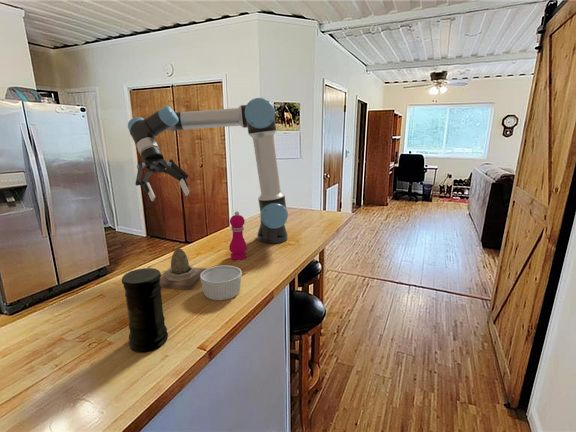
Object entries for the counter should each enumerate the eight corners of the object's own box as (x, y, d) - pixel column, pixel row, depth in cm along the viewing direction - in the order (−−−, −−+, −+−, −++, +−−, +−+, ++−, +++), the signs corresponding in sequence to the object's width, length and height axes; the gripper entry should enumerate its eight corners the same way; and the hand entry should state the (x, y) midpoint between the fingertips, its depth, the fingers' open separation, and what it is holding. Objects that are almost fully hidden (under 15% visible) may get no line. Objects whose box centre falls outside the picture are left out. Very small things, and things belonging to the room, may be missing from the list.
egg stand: (207, 272, 118) (206, 263, 117) (190, 289, 104) (189, 280, 104) (172, 269, 120) (171, 261, 119) (151, 286, 107) (150, 277, 106)
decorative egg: (172, 280, 108) (170, 252, 106) (170, 273, 113) (168, 247, 111) (190, 276, 111) (188, 250, 108) (187, 270, 116) (185, 244, 113)
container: (137, 331, 82) (128, 267, 78) (172, 329, 83) (166, 266, 79) (122, 354, 74) (112, 284, 69) (162, 352, 74) (154, 282, 70)
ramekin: (198, 287, 106) (197, 268, 105) (236, 280, 111) (236, 262, 110) (204, 306, 94) (203, 285, 93) (247, 298, 100) (246, 277, 98)
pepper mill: (243, 261, 128) (242, 214, 123) (227, 260, 129) (224, 213, 124) (249, 255, 135) (248, 209, 130) (233, 253, 136) (231, 209, 131)
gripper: (176, 157, 135) (197, 197, 130) (114, 160, 117) (135, 207, 112) (182, 145, 130) (203, 186, 125) (118, 146, 112) (139, 195, 107)
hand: (171, 196), depth 118 cm, fingers open, 13 cm apart
